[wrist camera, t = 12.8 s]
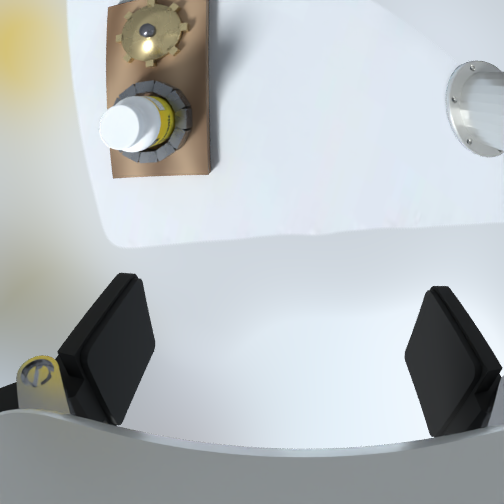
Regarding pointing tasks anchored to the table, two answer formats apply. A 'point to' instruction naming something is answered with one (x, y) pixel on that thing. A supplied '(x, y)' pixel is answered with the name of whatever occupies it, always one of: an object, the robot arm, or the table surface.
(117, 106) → the supplement bottle
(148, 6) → the brass gear
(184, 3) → the gear board
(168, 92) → the socket ring
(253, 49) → the table surface
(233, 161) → the table surface
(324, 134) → the table surface
